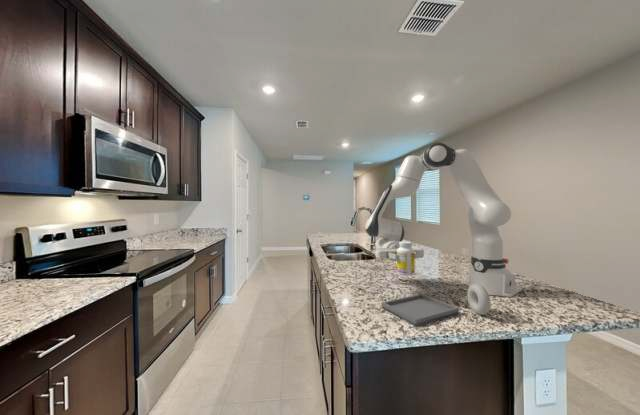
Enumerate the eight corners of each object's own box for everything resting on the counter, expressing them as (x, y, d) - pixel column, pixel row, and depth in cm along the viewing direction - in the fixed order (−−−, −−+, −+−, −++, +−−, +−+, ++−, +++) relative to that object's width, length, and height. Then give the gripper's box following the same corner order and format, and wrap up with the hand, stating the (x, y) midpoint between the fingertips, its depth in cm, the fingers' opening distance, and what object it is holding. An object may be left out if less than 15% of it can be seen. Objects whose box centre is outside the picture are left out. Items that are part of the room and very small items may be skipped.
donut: (493, 320, 81) (493, 289, 81) (482, 320, 81) (482, 289, 81) (474, 307, 91) (474, 280, 91) (465, 307, 91) (464, 280, 91)
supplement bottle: (411, 271, 105) (411, 240, 105) (417, 276, 98) (416, 243, 98) (395, 271, 105) (395, 241, 105) (399, 276, 98) (399, 243, 98)
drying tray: (421, 298, 100) (421, 293, 100) (458, 313, 86) (458, 307, 86) (381, 307, 92) (381, 302, 92) (415, 326, 77) (415, 319, 77)
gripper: (370, 244, 113) (381, 249, 100) (414, 243, 115) (430, 248, 101) (371, 258, 113) (381, 265, 100) (414, 256, 115) (430, 263, 101)
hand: (406, 256), depth 101 cm, fingers closed on supplement bottle, 7 cm apart
